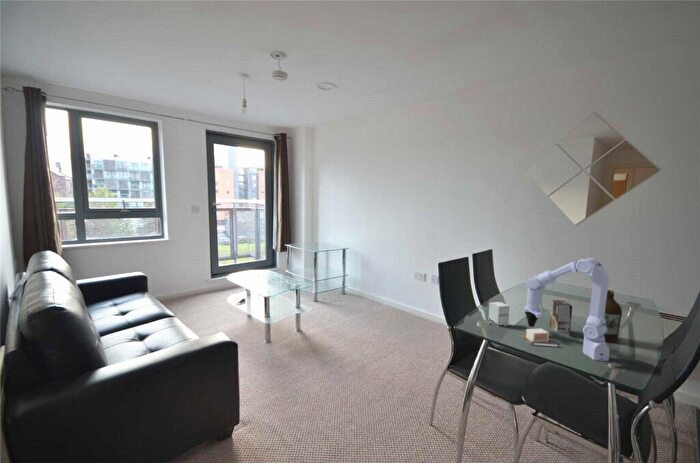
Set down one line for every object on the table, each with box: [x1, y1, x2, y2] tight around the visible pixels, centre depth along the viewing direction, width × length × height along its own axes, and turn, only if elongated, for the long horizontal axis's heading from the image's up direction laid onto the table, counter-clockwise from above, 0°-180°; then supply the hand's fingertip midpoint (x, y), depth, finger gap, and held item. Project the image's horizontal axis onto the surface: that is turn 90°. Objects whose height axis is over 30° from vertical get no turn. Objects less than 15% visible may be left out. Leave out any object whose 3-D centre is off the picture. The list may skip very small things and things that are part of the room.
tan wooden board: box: [519, 333, 561, 348], centre depth 148 cm, size 12×13×2 cm
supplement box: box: [488, 301, 511, 327], centre depth 169 cm, size 7×7×13 cm
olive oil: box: [604, 289, 623, 344], centre depth 154 cm, size 11×11×25 cm
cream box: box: [525, 328, 550, 342], centre depth 149 cm, size 5×8×4 cm, turn 97°
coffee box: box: [549, 299, 573, 337], centre depth 161 cm, size 9×6×16 cm
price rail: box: [530, 341, 561, 348], centre depth 143 cm, size 1×12×2 cm, turn 82°
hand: (531, 326), depth 157 cm, fingers closed
